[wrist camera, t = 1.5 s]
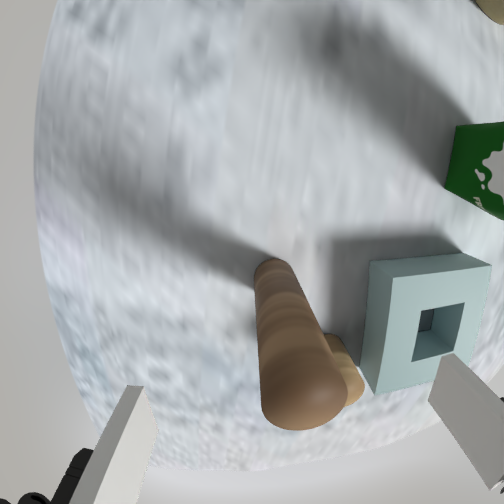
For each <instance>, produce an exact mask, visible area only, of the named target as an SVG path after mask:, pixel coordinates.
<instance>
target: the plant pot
mask: <svg viewBox="0 0 504 504" xmlns="http://www.w3.org/2000/svg"><path fill="white" fill-rule="evenodd" d="M475 1H476V3H477V4H478V6H479V7H480V8H481V9H482V10H483V12H484V13H485V14H486V15H487V16H488V17H489V18H491V19H492V20H493V21H495V22H496V23H498V24H501V25H504V0H475Z"/></svg>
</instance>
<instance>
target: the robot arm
mask: <svg viewBox="0 0 504 504" xmlns="http://www.w3.org/2000/svg"><path fill="white" fill-rule="evenodd" d="M428 402H429V403H430V404H431V406H432V407H433V408H434V410H435V411H436V413H437V414H438V415H439V417H440V418H441V419H442V421H443V422H444V424H445V425H446V426H447V428H448V429H449V431H450V432H451V433H452V435H453V436H454V438H455V439H456V441H457V442H458V444H459V445H460V446H461V448H462V449H463V451H464V452H465V454H466V455H467V457H468V458H469V460H470V461H471V463H472V464H473V466H474V467H475V469H476V470H477V471H478V473H479V475H480V476H481V478H482V479H483V481H484V482H485V484H486V486H487V487H488V489H489V490H490V491H491V490H492V489H494V488H495V487H497V486H498V485H500V484H501V483H502V482H503V481H504V398H503V397H502V398H499V397H498V396H497V395H496V394H495V393H494V392H493V391H492V390H491V389H490V388H489V387H488V386H487V385H486V384H485V383H484V382H483V381H482V380H481V379H480V378H479V377H478V376H477V375H476V374H475V373H474V372H473V371H472V370H471V369H470V368H469V367H468V366H467V365H466V364H465V363H463V362H462V361H461V360H460V359H459V358H458V357H457V356H456V355H455V354H454V353H451V354H448V355H444V356H441V360H440V363H439V367H438V370H437V374H436V377H435V380H434V383H433V386H432V390H431V393H430V395H429V398H428ZM158 431H159V429H158V427H157V424H156V421H155V418H154V416H153V413H152V410H151V407H150V404H149V401H148V398H147V395H146V392H145V389H144V386H130V385H127V387H126V389H125V391H124V393H123V395H122V396H121V398H120V400H119V402H118V404H117V406H116V408H115V410H114V412H113V414H112V416H111V418H110V419H109V421H108V423H107V425H106V427H105V429H104V431H103V433H102V435H101V437H100V439H99V441H98V443H97V445H96V447H95V449H94V450H91V449H86V448H83V449H82V450H80V451H79V452H78V453H77V454H76V455H75V456H74V457H73V459H72V461H71V463H70V465H69V468H68V469H67V471H66V473H65V475H64V476H63V478H62V480H61V483H60V484H59V486H58V489H57V490H56V492H55V494H54V497H53V498H52V500H51V502H50V501H49V500H48V499H47V498H46V497H45V496H44V495H42V494H39V493H36V492H34V493H27V494H25V495H24V496H22V497H21V498H20V500H19V502H18V504H137V500H138V497H139V493H140V490H141V486H142V483H143V479H144V476H145V473H146V469H147V466H148V463H149V460H150V457H151V453H152V450H153V447H154V444H155V440H156V437H157V434H158ZM503 492H504V487H503V488H502V490H501V493H503ZM0 504H11V503H9V502H8V501H7V500H5V499H0Z"/></svg>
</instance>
